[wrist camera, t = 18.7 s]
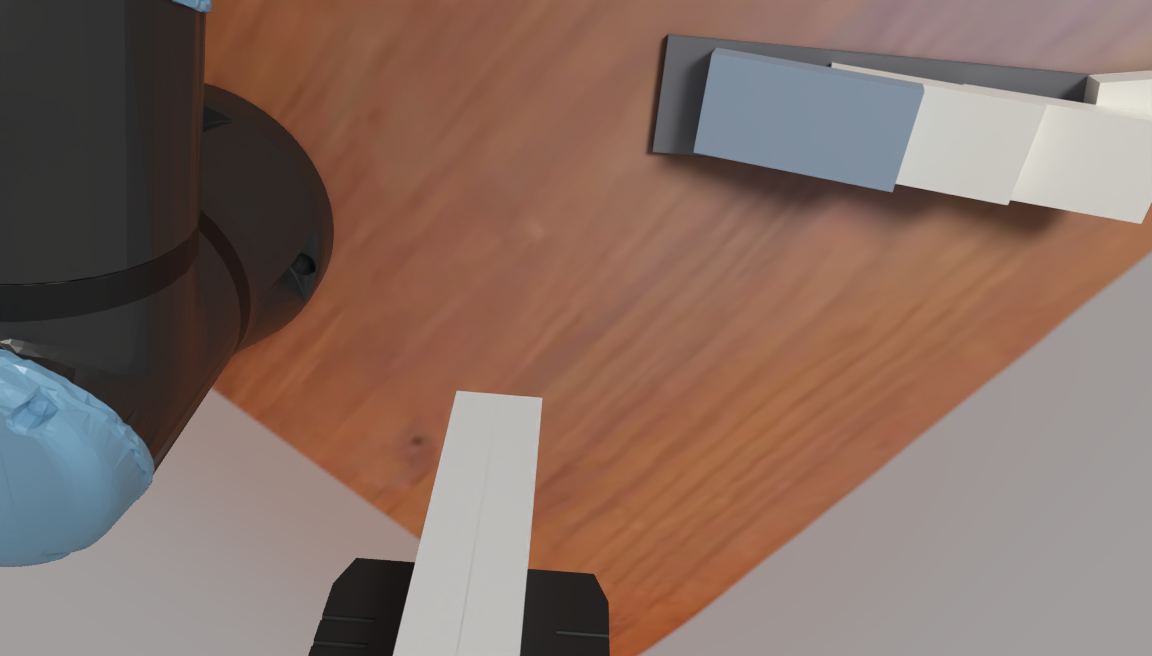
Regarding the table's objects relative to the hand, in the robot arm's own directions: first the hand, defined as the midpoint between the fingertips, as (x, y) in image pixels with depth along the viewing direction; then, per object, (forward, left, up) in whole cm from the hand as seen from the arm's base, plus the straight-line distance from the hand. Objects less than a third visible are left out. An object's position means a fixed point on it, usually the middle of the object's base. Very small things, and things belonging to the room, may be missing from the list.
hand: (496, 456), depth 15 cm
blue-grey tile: (+6, -5, -31) cm, 32 cm away
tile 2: (+10, -9, -31) cm, 34 cm away
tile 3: (+16, -13, -31) cm, 37 cm away
